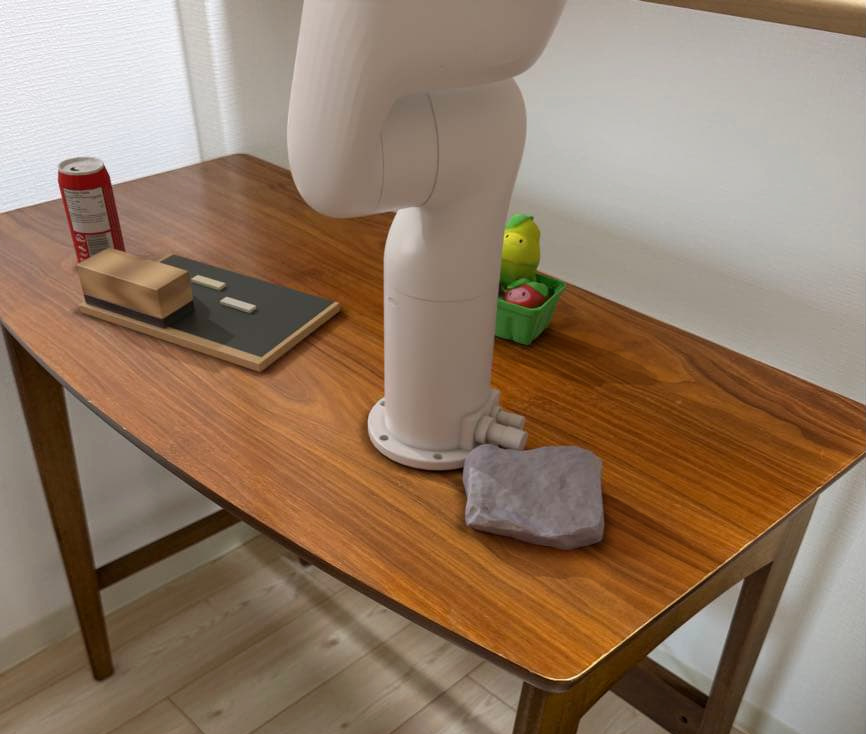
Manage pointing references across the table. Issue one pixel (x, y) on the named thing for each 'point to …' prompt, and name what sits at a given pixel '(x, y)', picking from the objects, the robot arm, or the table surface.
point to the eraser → (136, 287)
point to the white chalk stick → (238, 304)
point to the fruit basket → (524, 284)
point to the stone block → (536, 494)
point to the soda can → (89, 206)
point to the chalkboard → (235, 317)
